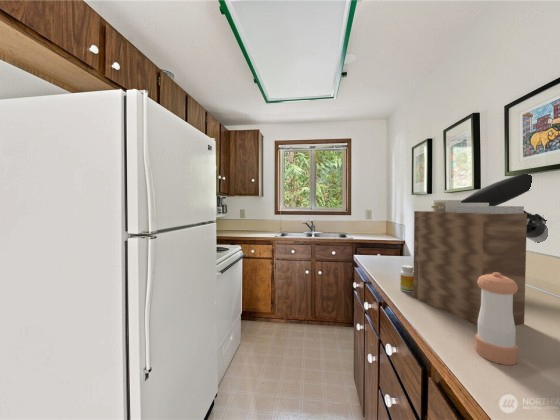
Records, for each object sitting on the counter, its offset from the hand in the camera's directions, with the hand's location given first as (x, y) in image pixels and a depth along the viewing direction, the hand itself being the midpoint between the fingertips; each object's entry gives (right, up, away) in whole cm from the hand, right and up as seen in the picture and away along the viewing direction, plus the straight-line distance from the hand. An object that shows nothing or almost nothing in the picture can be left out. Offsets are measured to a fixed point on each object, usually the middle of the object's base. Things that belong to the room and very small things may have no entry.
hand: (505, 211), depth 94 cm
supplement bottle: (-35, -32, +5) cm, 48 cm away
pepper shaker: (-36, -33, -37) cm, 61 cm away
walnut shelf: (-26, -32, -12) cm, 43 cm away
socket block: (-23, 0, -19) cm, 30 cm away
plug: (-21, 0, -6) cm, 22 cm away
